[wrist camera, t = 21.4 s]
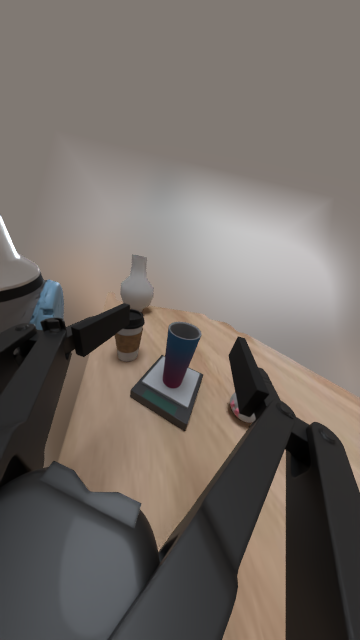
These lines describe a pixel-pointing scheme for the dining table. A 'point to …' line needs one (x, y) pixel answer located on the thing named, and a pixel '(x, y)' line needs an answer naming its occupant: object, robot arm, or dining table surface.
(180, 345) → the cup
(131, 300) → the vase
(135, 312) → the coffee cup
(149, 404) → the scale
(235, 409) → the figurine
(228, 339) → the dining table surface
